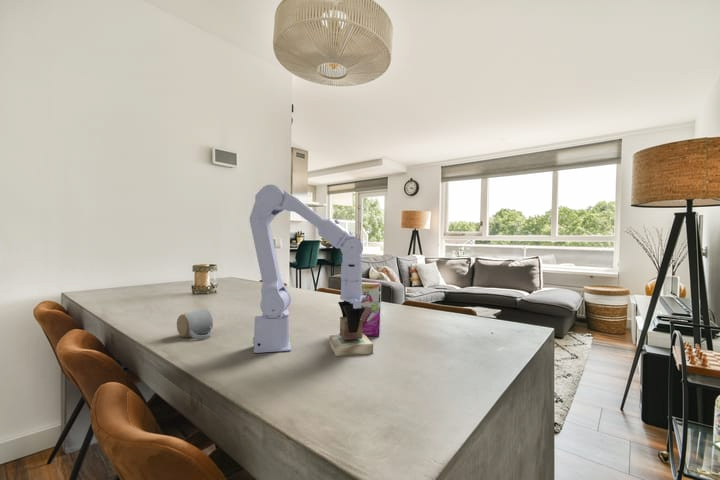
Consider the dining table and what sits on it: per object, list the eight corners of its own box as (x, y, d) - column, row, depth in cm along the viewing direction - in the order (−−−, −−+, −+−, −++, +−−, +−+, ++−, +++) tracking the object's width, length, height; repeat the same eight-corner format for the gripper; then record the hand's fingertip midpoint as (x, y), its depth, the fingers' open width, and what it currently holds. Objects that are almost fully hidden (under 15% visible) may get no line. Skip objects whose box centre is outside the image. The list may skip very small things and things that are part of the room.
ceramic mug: (174, 335, 103) (175, 310, 103) (200, 330, 109) (201, 306, 109) (192, 343, 96) (192, 316, 96) (219, 336, 103) (219, 311, 103)
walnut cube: (344, 339, 90) (344, 320, 90) (339, 334, 95) (340, 317, 95) (362, 338, 91) (362, 319, 91) (357, 333, 96) (357, 316, 96)
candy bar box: (344, 335, 105) (344, 283, 105) (346, 331, 110) (347, 281, 110) (380, 337, 104) (380, 284, 104) (380, 332, 109) (381, 282, 109)
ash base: (335, 355, 87) (336, 345, 87) (329, 344, 97) (329, 335, 97) (373, 353, 89) (373, 343, 89) (363, 342, 99) (363, 333, 99)
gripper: (373, 283, 87) (372, 336, 87) (359, 277, 101) (358, 322, 101) (346, 283, 85) (345, 337, 85) (335, 277, 99) (335, 323, 99)
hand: (350, 329), depth 93 cm, fingers closed on walnut cube, 5 cm apart
